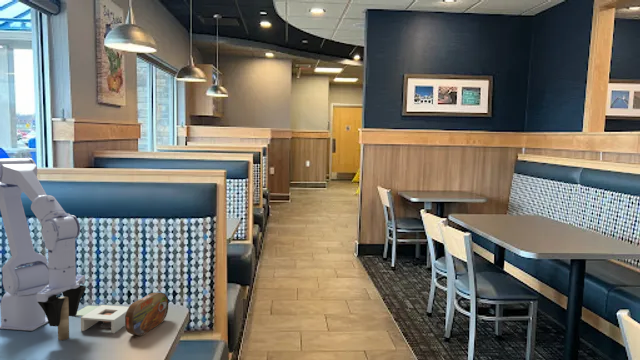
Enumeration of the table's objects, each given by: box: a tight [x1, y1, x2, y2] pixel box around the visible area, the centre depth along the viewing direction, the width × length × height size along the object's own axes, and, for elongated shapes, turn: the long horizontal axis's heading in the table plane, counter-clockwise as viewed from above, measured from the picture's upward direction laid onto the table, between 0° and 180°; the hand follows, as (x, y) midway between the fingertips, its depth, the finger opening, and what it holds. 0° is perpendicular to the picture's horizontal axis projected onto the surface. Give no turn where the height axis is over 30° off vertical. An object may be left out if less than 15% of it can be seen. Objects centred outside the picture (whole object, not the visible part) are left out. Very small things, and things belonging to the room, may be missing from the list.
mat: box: [75, 305, 100, 318], centre depth 126 cm, size 7×7×1 cm
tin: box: [124, 291, 169, 336], centre depth 116 cm, size 15×3×8 cm, turn 165°
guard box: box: [80, 304, 129, 334], centre depth 118 cm, size 9×9×4 cm
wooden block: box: [57, 296, 70, 341], centre depth 109 cm, size 2×2×10 cm
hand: (63, 320), depth 109 cm, fingers open, 6 cm apart
